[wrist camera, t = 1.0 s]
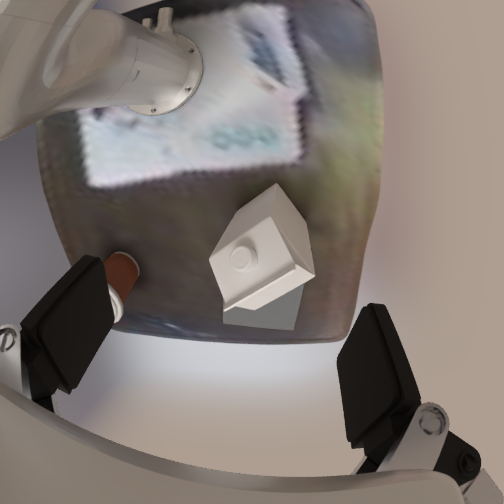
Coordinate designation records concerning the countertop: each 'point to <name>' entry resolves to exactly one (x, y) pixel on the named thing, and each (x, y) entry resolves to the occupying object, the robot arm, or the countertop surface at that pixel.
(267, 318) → the mat
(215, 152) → the countertop surface
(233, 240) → the milk carton
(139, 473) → the robot arm
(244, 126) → the countertop surface
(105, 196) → the countertop surface
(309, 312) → the countertop surface
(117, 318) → the coffee cup
